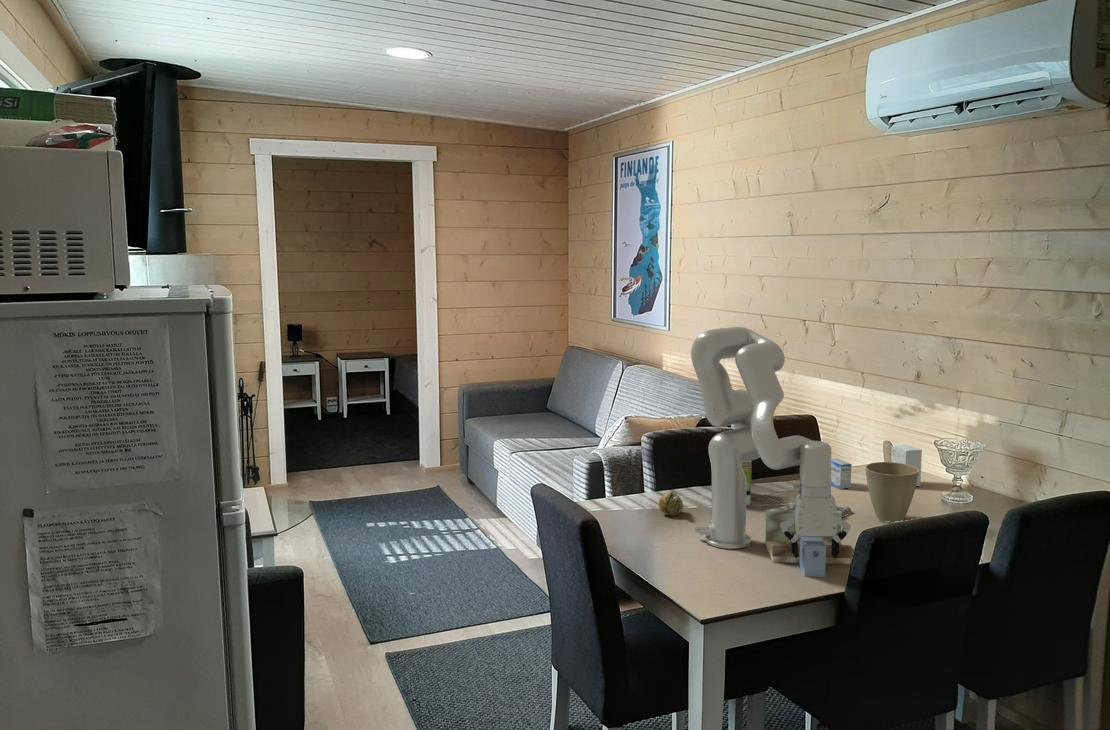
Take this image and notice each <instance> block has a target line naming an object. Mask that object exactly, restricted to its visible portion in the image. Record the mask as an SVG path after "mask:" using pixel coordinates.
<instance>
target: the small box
mask: <svg viewBox="0 0 1110 730" xmlns="http://www.w3.org/2000/svg"><path fill="white" fill-rule="evenodd" d="M922 451H923V450H922V449H920V448H917V447H915V446H912V445H909V444H899V445H898V444H897V445H895V444H894V445H892V446H891V456H890V458H891V459H890V462H895V463H903V464H908V465H911V466H914V467H916V468H918V469H919V473H918V478H917V483H916V486H920V487H921V479H922V478H921V475H922V473H921V472H922V457H923V456H922V454H923V453H922Z"/></svg>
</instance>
